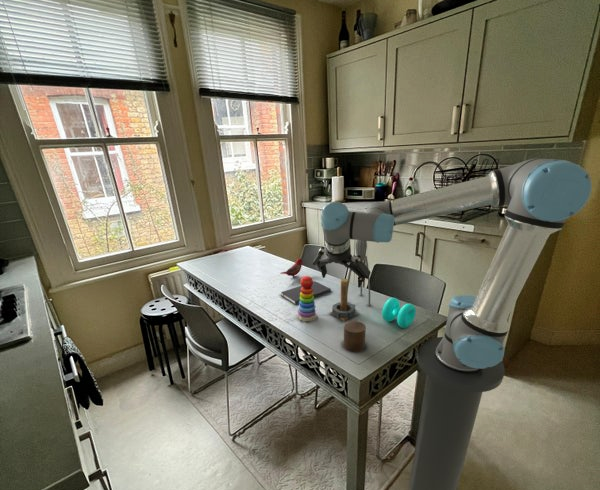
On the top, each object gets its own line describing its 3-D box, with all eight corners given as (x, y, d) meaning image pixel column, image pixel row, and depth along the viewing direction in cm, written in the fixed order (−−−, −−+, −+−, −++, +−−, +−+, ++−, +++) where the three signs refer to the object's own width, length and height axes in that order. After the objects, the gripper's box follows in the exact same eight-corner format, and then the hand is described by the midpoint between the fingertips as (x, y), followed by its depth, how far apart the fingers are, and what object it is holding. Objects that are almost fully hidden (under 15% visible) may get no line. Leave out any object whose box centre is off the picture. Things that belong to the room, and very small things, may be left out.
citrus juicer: (361, 295, 151) (363, 233, 139) (377, 301, 144) (382, 238, 132) (344, 302, 145) (346, 239, 132) (361, 310, 138) (364, 244, 125)
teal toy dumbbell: (393, 314, 133) (395, 293, 129) (415, 323, 126) (418, 301, 122) (379, 323, 127) (381, 301, 123) (401, 333, 120) (404, 310, 116)
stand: (369, 345, 114) (370, 326, 111) (355, 354, 110) (356, 335, 106) (353, 337, 119) (353, 318, 116) (339, 345, 115) (339, 326, 112)
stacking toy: (313, 323, 129) (312, 281, 122) (295, 320, 132) (292, 279, 124) (318, 314, 136) (318, 274, 128) (301, 311, 139) (299, 272, 131)
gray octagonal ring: (359, 312, 134) (360, 307, 133) (344, 320, 128) (344, 315, 127) (343, 305, 141) (343, 300, 140) (327, 312, 135) (327, 307, 134)
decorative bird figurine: (305, 274, 177) (304, 257, 173) (282, 284, 166) (281, 266, 162) (301, 273, 179) (301, 256, 175) (278, 283, 168) (277, 265, 164)
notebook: (295, 304, 145) (330, 291, 156) (295, 301, 144) (330, 288, 155) (280, 295, 155) (315, 283, 165) (280, 292, 154) (314, 281, 165)
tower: (357, 314, 135) (358, 280, 128) (344, 321, 130) (345, 285, 123) (343, 308, 140) (343, 274, 134) (330, 314, 136) (330, 280, 129)
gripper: (296, 245, 99) (307, 279, 118) (374, 264, 91) (372, 297, 109) (305, 227, 102) (314, 262, 120) (381, 244, 94) (379, 279, 112)
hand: (342, 279), depth 115 cm, fingers open, 13 cm apart
